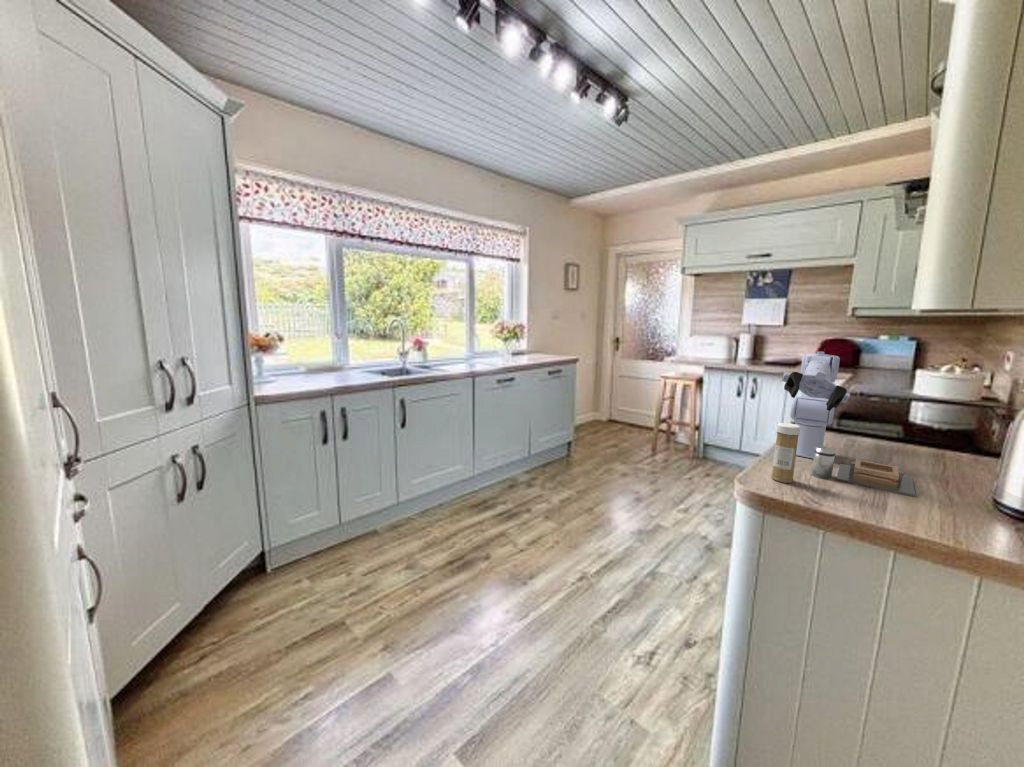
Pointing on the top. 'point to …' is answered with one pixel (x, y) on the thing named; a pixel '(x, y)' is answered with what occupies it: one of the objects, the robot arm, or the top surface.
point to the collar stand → (876, 477)
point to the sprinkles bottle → (785, 452)
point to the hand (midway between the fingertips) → (812, 400)
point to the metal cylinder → (823, 462)
